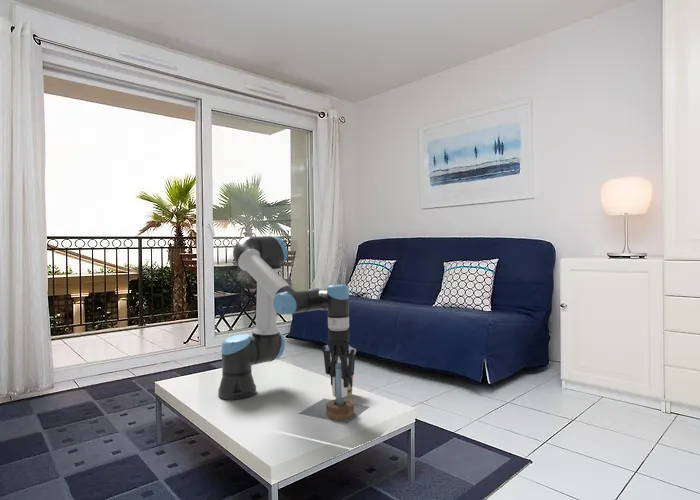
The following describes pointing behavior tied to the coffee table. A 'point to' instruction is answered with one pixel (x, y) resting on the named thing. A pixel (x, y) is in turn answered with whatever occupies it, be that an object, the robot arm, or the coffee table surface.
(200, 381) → the coffee table surface
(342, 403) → the blue rounded-end rod
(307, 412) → the mat
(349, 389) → the coffee cup
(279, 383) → the coffee table surface
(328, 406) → the bead
